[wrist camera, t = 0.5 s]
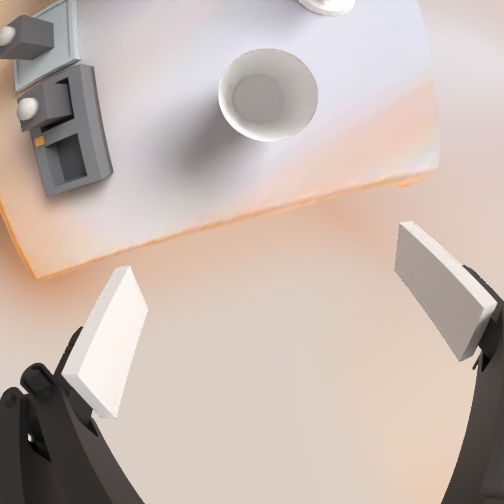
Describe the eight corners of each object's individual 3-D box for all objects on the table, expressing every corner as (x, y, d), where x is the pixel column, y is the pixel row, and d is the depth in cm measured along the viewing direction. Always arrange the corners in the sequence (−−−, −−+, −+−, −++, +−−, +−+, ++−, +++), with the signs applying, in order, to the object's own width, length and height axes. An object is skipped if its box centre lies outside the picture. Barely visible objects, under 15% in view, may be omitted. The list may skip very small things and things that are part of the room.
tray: (18, 30, 22) (13, 29, 20) (77, -5, 21) (72, -8, 20) (21, 91, 27) (15, 91, 26) (80, 59, 27) (75, 58, 26)
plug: (31, 36, 22) (-8, 31, 14) (53, 23, 22) (15, 13, 14) (32, 60, 25) (-9, 58, 16) (54, 47, 25) (14, 41, 16)
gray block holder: (40, 92, 28) (-6, 96, 19) (93, 66, 28) (52, 59, 19) (60, 188, 36) (21, 214, 27) (113, 172, 36) (78, 195, 27)
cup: (253, 146, 36) (261, 163, 25) (207, 94, 32) (194, 88, 21) (307, 105, 33) (339, 106, 23) (263, 52, 30) (276, 29, 19)
